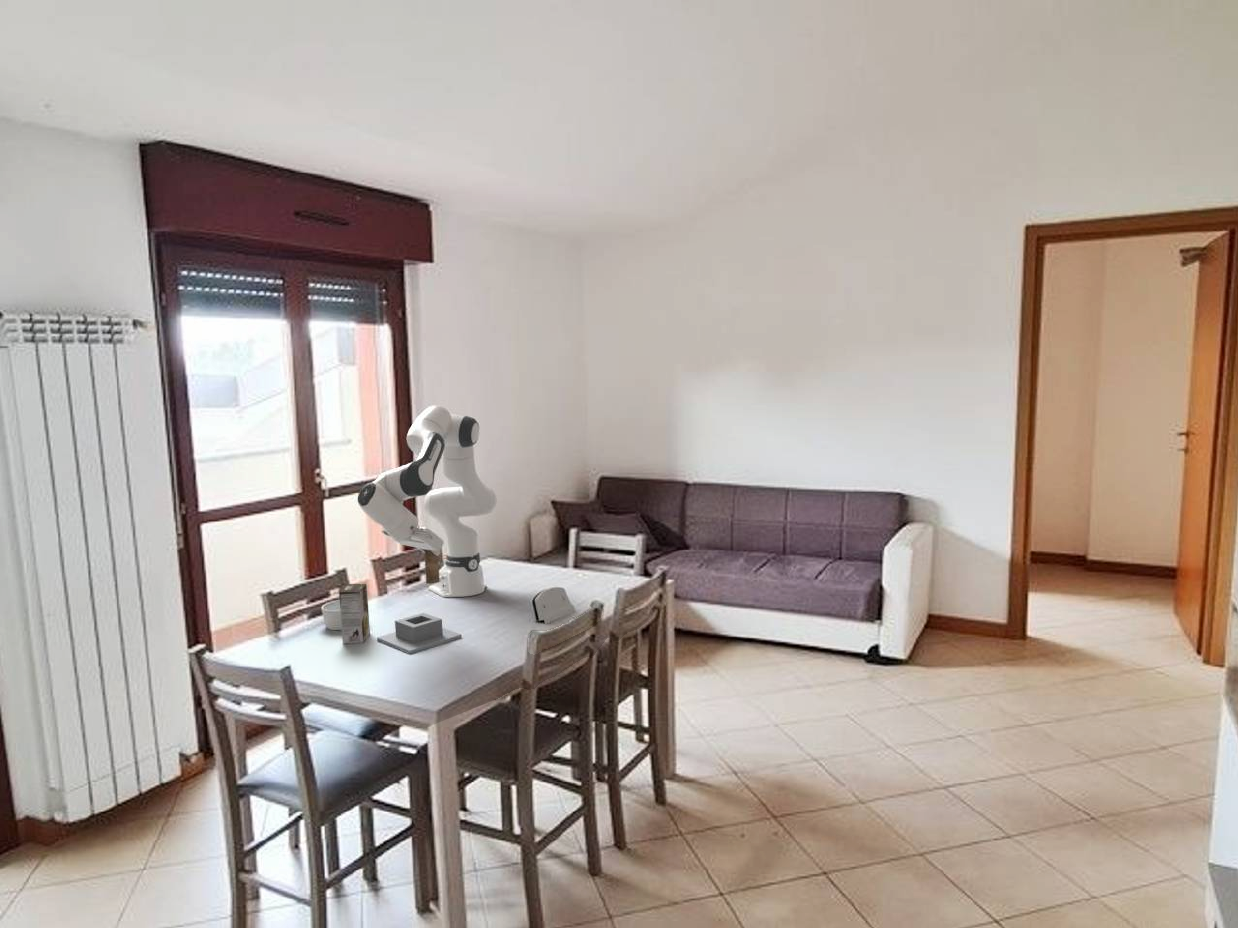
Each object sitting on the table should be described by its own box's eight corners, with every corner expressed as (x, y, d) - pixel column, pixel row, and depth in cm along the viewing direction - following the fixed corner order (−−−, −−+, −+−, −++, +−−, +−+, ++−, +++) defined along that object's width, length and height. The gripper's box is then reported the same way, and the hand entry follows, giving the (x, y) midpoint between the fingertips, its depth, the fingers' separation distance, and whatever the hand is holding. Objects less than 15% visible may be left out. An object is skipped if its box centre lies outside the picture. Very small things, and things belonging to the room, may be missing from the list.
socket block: (377, 640, 239) (376, 621, 238) (428, 625, 252) (427, 607, 251) (409, 654, 226) (408, 633, 226) (461, 637, 240) (460, 618, 239)
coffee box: (349, 634, 246) (346, 583, 244) (370, 632, 246) (367, 582, 244) (341, 644, 237) (338, 591, 235) (363, 642, 237) (360, 590, 235)
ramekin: (374, 622, 257) (373, 601, 256) (343, 634, 246) (342, 612, 245) (345, 617, 263) (344, 596, 262) (313, 629, 252) (312, 607, 251)
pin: (423, 582, 238) (421, 543, 237) (434, 579, 241) (432, 541, 240) (431, 584, 236) (428, 544, 235) (442, 581, 239) (440, 542, 237)
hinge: (545, 623, 250) (536, 593, 251) (535, 626, 253) (525, 597, 254) (576, 609, 264) (566, 581, 265) (565, 612, 267) (556, 584, 268)
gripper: (429, 520, 224) (459, 548, 233) (390, 514, 238) (419, 540, 246) (416, 538, 222) (447, 565, 230) (378, 530, 235) (408, 557, 243)
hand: (433, 552), depth 238 cm, fingers closed on pin, 4 cm apart
